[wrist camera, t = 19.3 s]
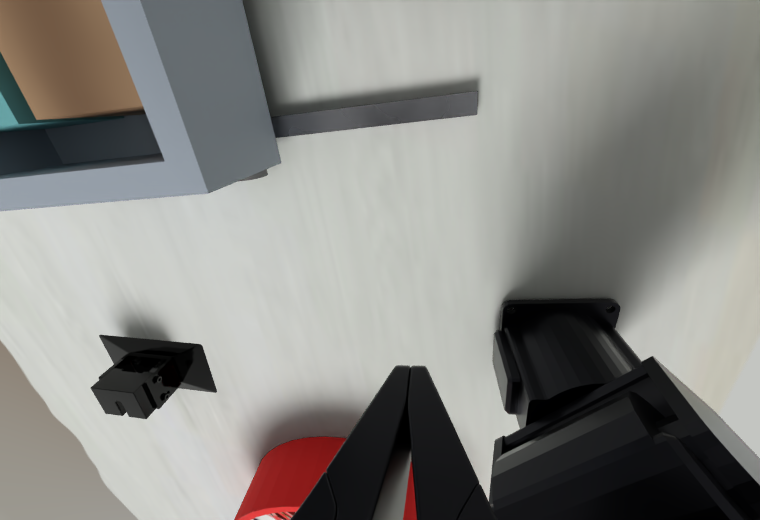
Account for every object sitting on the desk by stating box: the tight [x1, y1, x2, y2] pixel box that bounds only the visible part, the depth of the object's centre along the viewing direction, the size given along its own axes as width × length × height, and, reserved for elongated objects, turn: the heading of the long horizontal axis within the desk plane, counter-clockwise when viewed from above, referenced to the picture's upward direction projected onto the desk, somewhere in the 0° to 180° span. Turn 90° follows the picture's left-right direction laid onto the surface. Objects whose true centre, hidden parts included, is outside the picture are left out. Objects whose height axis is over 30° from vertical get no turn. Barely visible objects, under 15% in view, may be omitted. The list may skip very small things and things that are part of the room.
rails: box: [270, 91, 478, 138], centre depth 15 cm, size 23×8×1 cm, turn 96°
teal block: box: [0, 52, 124, 132], centre depth 13 cm, size 4×4×4 cm
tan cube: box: [0, 0, 146, 120], centre depth 12 cm, size 4×4×4 cm
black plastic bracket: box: [91, 335, 217, 419], centre depth 26 cm, size 12×7×5 cm, turn 90°
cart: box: [0, 0, 281, 211], centre depth 13 cm, size 13×12×7 cm
